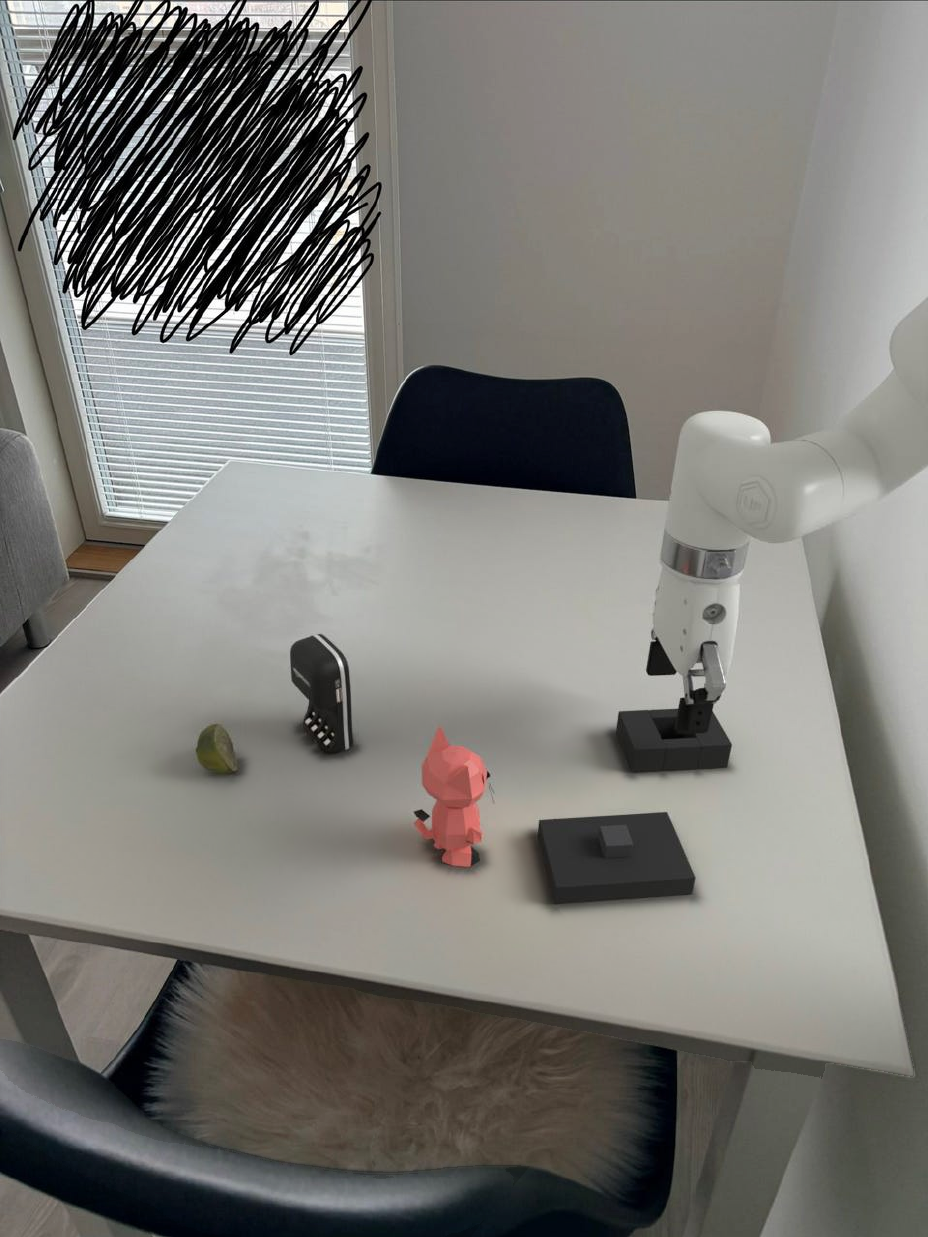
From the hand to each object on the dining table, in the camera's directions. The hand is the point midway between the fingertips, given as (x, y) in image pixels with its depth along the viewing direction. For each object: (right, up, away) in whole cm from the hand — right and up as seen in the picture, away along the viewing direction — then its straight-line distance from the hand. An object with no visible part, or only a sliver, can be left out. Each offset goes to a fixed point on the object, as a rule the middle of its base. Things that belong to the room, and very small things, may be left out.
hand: (675, 701), depth 89 cm
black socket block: (0, -5, +3) cm, 6 cm away
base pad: (-8, -13, -11) cm, 19 cm away
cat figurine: (-22, -13, -10) cm, 27 cm away
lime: (-46, -7, -1) cm, 46 cm away
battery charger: (-36, -4, +4) cm, 37 cm away
